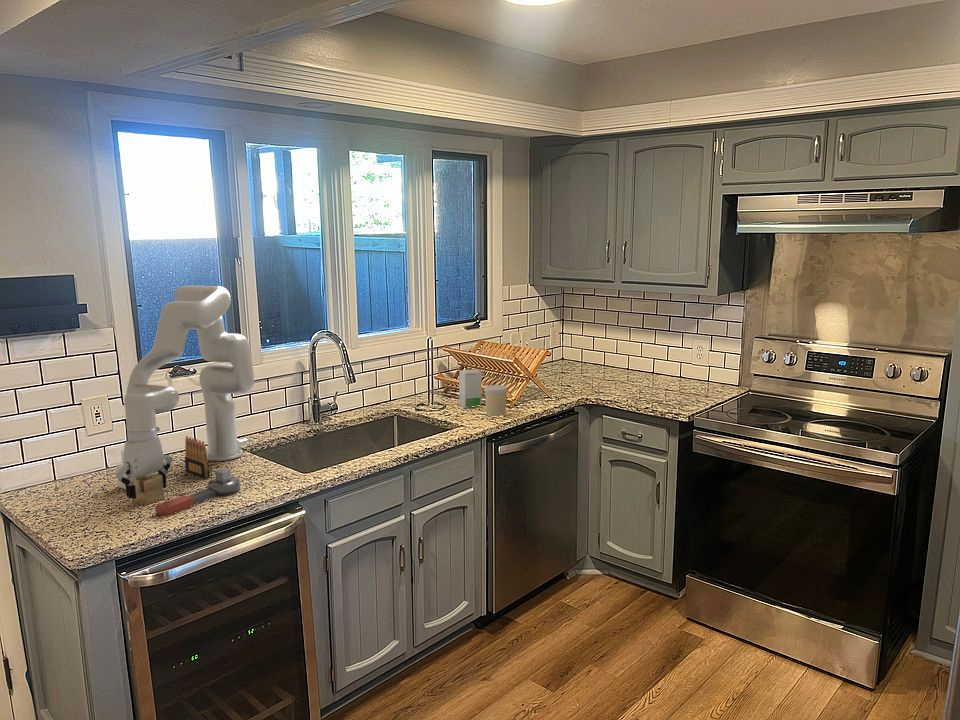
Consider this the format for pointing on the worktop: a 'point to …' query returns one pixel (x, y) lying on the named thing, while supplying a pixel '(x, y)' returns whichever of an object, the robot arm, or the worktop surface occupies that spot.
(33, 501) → the worktop surface
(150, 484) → the wooden block
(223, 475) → the ratchet
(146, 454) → the robot arm
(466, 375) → the skincare box
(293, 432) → the worktop surface
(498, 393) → the coffee cup
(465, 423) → the worktop surface
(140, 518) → the worktop surface
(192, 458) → the ammunition clip
